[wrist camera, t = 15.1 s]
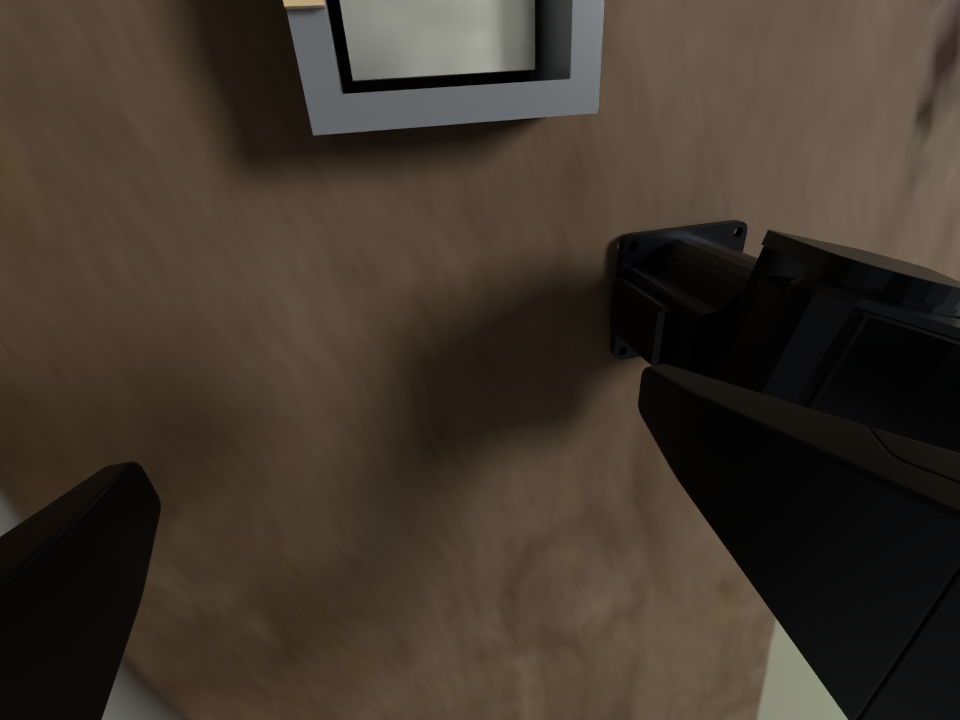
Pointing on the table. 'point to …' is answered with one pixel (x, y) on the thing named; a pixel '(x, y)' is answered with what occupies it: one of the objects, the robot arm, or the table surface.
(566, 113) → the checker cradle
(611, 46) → the table surface
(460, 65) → the plate
